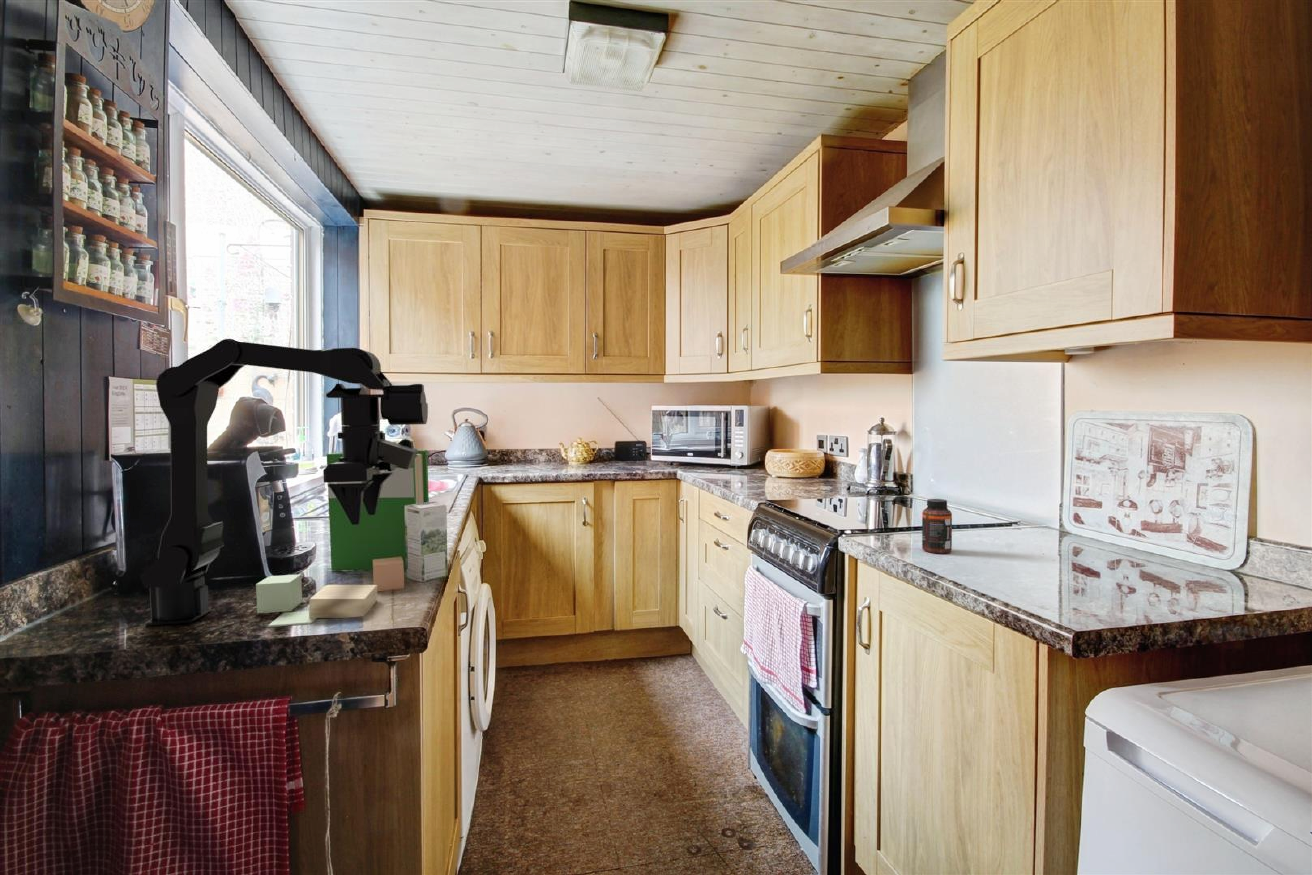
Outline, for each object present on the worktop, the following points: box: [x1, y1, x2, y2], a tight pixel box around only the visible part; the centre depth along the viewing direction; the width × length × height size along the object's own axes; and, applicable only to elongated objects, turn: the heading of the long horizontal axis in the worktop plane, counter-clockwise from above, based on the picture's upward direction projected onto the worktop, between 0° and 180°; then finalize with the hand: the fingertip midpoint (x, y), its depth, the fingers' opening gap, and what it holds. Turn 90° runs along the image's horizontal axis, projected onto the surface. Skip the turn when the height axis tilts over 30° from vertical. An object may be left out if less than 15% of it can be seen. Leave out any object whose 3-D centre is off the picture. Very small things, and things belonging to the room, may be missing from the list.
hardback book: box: [326, 449, 430, 570], centre depth 131 cm, size 18×7×24 cm, turn 88°
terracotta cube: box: [372, 557, 405, 592], centre depth 116 cm, size 5×5×5 cm
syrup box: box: [405, 501, 449, 583], centre depth 122 cm, size 6×6×14 cm
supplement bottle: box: [921, 498, 953, 554], centre depth 138 cm, size 6×6×11 cm
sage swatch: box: [268, 610, 318, 628], centre depth 99 cm, size 6×6×1 cm
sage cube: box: [255, 574, 303, 614], centre depth 105 cm, size 5×5×5 cm
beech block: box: [308, 584, 378, 619], centre depth 103 cm, size 8×8×3 cm
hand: (364, 519), depth 105 cm, fingers open, 9 cm apart
